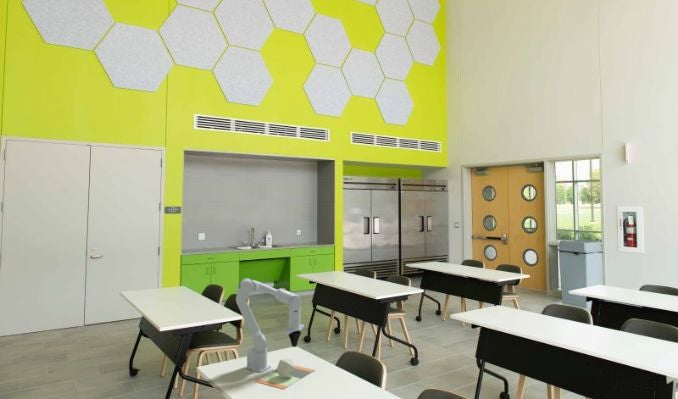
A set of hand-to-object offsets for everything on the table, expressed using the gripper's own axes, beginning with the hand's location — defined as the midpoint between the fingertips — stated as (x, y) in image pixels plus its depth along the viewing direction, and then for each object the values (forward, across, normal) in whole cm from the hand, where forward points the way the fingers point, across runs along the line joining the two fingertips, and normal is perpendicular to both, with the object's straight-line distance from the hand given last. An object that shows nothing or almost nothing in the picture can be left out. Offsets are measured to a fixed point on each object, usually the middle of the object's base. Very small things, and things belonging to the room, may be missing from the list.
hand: (294, 346), depth 206 cm
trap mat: (+9, -13, -4) cm, 17 cm away
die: (+9, -15, -6) cm, 18 cm away
